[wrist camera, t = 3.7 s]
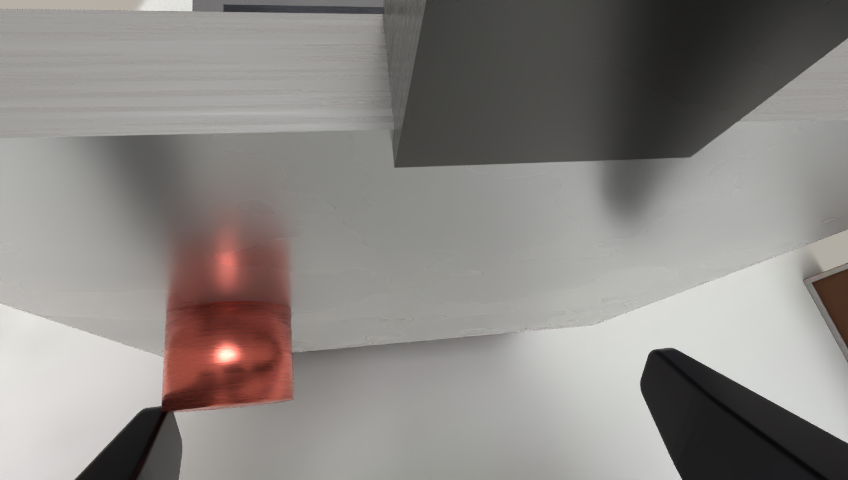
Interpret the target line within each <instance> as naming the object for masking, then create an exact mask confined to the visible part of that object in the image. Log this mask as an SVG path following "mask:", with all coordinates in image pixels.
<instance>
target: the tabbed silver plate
mask: <svg viewBox="0 0 848 480" xmlns="http://www.w3.org/2000/svg"><path fill="white" fill-rule="evenodd" d="M847 229H848V0H384V4H383V14H330V13H260V12H190V11H120V10H119V11H118V10H117V11H116V10H50V9H44V10H43V9H0V303H1V304H4V305H7V306H10V307H13V308H16V309H19V310H22V311H25V312H28V313H31V314H34V315H37V316H40V317H43V318H46V319H49V320H52V321H55V322H58V323H61V324H64V325H67V326H70V327H73V328H77V329H80V330H83V331H86V332H89V333H92V334H95V335H98V336H101V337H104V338H107V339H110V340H113V341H116V342H119V343H122V344H125V345H128V346H131V347H134V348H137V349H140V350H143V351H146V352H149V353H152V354H156V355H159V356H162V357H164V367H163V389H162V410H161V412H188V411H202V410H214V409H224V408H235V407H244V406H253V405H262V404H270V403H277V402H284V401H289V400H293V399H294V394H293V360H292V353H294V352H305V351H316V350H327V349H338V348H349V347H360V346H371V345H382V344H393V343H404V342H415V341H426V340H437V339H448V338H459V337H470V336H481V335H492V334H503V333H514V332H525V331H536V330H547V329H558V328H569V327H580V326H591V325H595V324H597V323H600V322H603V321H605V320H608V319H611V318H613V317H616V316H619V315H621V314H624V313H627V312H629V311H632V310H635V309H637V308H640V307H642V306H645V305H648V304H650V303H653V302H656V301H658V300H661V299H664V298H666V297H669V296H672V295H674V294H677V293H680V292H682V291H685V290H688V289H690V288H693V287H696V286H698V285H701V284H704V283H706V282H709V281H712V280H714V279H717V278H720V277H722V276H725V275H728V274H730V273H733V272H736V271H738V270H741V269H744V268H746V267H749V266H752V265H754V264H757V263H760V262H762V261H765V260H768V259H770V258H773V257H776V256H778V255H781V254H784V253H786V252H789V251H792V250H794V249H797V248H800V247H802V246H805V245H808V244H810V243H813V242H815V241H818V240H821V239H823V238H826V237H829V236H832V235H834V234H837V233H839V232H842V231H845V230H847Z"/></svg>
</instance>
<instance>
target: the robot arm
mask: <svg viewBox="0 0 848 480" xmlns="http://www.w3.org/2000/svg"><path fill="white" fill-rule="evenodd" d="M640 387H641V392H642V395H643V397H644V399H645V401H646V404H647V406H648V408H649V410H650V413H651V415H652V417H653V419H654V421H655V424H656V426H657V428H658V430H659V433H660V435H661V437H662V439H663V441H664V444H665V446H666V448H667V450H668V452H669V455H670V457H671V459H672V461H673V463H674V465H675V467H676V469H677V471H678V473H679V474H680V476H681V478H682V480H848V443H846V442H844V441H842V440H840V439H839V438H837V437H835V436H833V435H831V434H830V433H828V432H826V431H824V430H822V429H820V428H819V427H817V426H815V425H813V424H811V423H809V422H808V421H806V420H804V419H802V418H800V417H799V416H797V415H795V414H793V413H791V412H789V411H788V410H786V409H784V408H782V407H780V406H778V405H777V404H775V403H773V402H771V401H769V400H768V399H766V398H764V397H762V396H760V395H758V394H757V393H755V392H753V391H751V390H749V389H747V388H746V387H744V386H742V385H740V384H738V383H736V382H735V381H733V380H731V379H729V378H727V377H726V376H724V375H722V374H720V373H718V372H716V371H715V370H713V369H711V368H709V367H707V366H705V365H704V364H702V363H700V362H698V361H696V360H695V359H693V358H691V357H689V356H687V355H685V354H684V353H682V352H680V351H678V350H676V349H674V348H664V349H655V350H652V351H651V352H650V353H649V355H648V358H647V361H646V364H645V368H644V371H643V374H642V377H641V381H640ZM161 410H162V406H159V407H151V408H145V409H143V410H141V411H140V412H139V413H138V414H137V415H136V416H135V417H134V418H133V419H132V420H131V421H130V422H129V423H128V424H127V425H126V426H125V427H124V428H123V430H122V431H121V432H120V433H119V434H118V435H117V436H116V437H115V438H114V439H113V440H112V441H111V442H110V443H109V444H108V445H107V446H106V447H105V448H104V449H103V451H102V452H101V453H100V454H99V455H98V456H97V457H96V458H95V459H94V460H93V461H92V462H91V463H90V464H89V465H88V466H87V467H86V468H85V469H84V470H83V471H82V473H81V474H80V475H79V476H78V477H77V478H76V479H75V480H179V473H180V466H181V458H182V439H181V436H180V432H179V429H178V426H177V422H176V419H175V416H174V413H173V412H161Z"/></svg>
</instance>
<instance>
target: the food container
mask: <svg viewBox="0 0 848 480" xmlns="http://www.w3.org/2000/svg"><path fill="white" fill-rule="evenodd" d="M803 281H804V283H805V285H806V287H807V289H808V290H809V292H810V294H811V296H812V298H813V300H814V301H815V303H816V305H817V307H818V309H819V310H820V312H821V314H822V316H823V318H824V320H825V321H826V323H827V325H828V327H829V329H830V331H831V332H832V334H833V336H834V338H835V340H836V342H837V343H838V345H839V347H840V349H841V351H842V353H843V354H844V356H845V358H846V360H847V362H848V263H846V264H844V265H841V266H838V267H836V268H833V269H831V270H828V271H825V272H823V273H820V274H818V275H815V276H812V277H810V278H807V279H805V280H803Z"/></svg>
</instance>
